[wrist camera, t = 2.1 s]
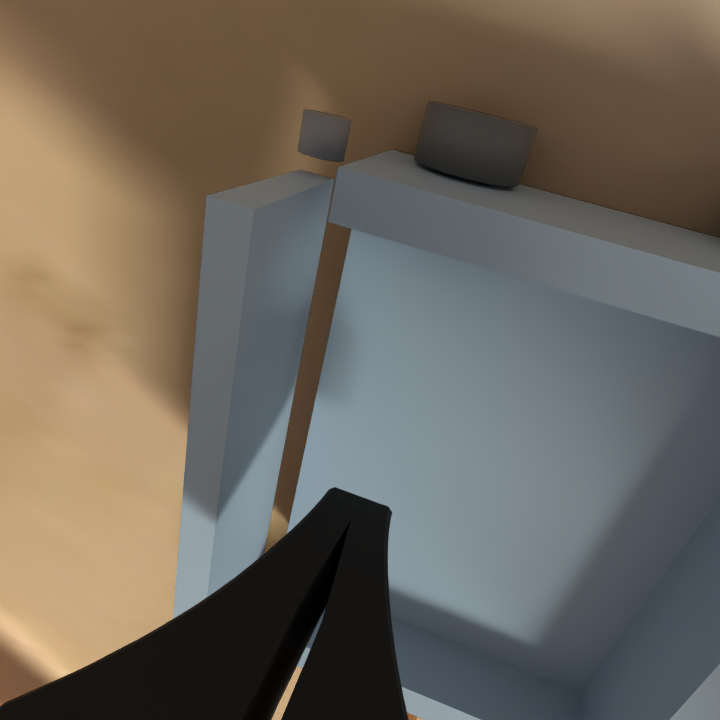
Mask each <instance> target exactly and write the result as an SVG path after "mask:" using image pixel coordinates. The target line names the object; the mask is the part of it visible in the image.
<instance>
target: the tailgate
mask: <svg viewBox="0 0 720 720" xmlns="http://www.w3.org/2000/svg"><path fill="white" fill-rule="evenodd" d="M334 180H335V179H332V178H329V177H325V176H322V175H318V174H314V173H311V172H307V171H304V170H297V171H293V172H290V173H286V174H283V175H279V176H275V177H272V178H268V179H264V180H261V181H257V182H254V183H250V184H246V185H243V186H239V187H236V188H232V189H228V190H225V191H221V192H217V193H214V194H210V195H207V196H206V207H205V220H204V233H203V245H202V258H201V271H200V284H199V296H198V309H197V322H196V334H195V347H194V360H193V372H192V385H191V398H190V411H189V423H188V436H187V449H186V461H185V474H184V487H183V500H182V512H181V525H180V538H179V550H178V563H177V576H176V588H175V601H174V614H173V619H174V618H175V617H177V616H179V615H180V614H182V613H183V612H185V611H187V610H188V609H190V608H191V607H193V606H195V605H196V604H198V603H199V602H201V601H202V600H204V599H205V598H206V597H208V596H209V595H211V594H212V593H214V592H215V591H217V590H218V589H220V588H221V587H222V586H224V585H225V584H226V583H228V582H229V581H231V580H232V579H233V578H235V577H236V576H237V575H239V574H240V573H241V572H242V571H244V570H245V569H246V568H247V567H249V566H250V565H251V564H252V563H254V562H255V561H256V560H257V559H258V558H260V557H261V556H262V555H263V554H264V551H265V546H266V540H267V535H268V530H269V524H270V519H271V514H272V508H273V503H274V498H275V492H276V487H277V482H278V477H279V471H280V466H281V461H282V455H283V450H284V445H285V439H286V434H287V429H288V424H289V418H290V413H291V408H292V402H293V397H294V392H295V386H296V381H297V376H298V370H299V365H300V360H301V355H302V349H303V344H304V339H305V333H306V328H307V323H308V317H309V312H310V307H311V302H312V296H313V291H314V286H315V280H316V275H317V270H318V264H319V259H320V254H321V248H322V243H323V238H324V233H325V227H326V222H327V217H328V211H329V206H330V201H331V195H332V190H333V185H334Z"/></svg>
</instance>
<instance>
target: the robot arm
mask: <svg viewBox="0 0 720 720" xmlns="http://www.w3.org/2000/svg"><path fill="white" fill-rule="evenodd" d="M391 516H392V511H391V510H390V508H389V507H388V506H385V505H382V504H380V503H377V502H374V501H372V500H369V499H366V498H363V497H361V496H358V495H355V494H352V493H350V492H347V491H344V490H342V489H339V488H336V487H334V488H331V489H329V490H328V491H327V492H326V494H325V495H324V496H323V497H322V499H321V500H320V501H319V502H318V503H317V504H316V505H315V506H314V508H313V509H312V510H311V511H310V512H309V513H308V514H307V515H306V516H305V517H304V518H303V519H302V520H301V521H300V522H299V523H298V524H297V525H296V526H295V527H294V528H293V529H292V530H291V531H289V532H288V533H287V534H286V535H285V536H284V537H283V538H282V539H281V540H280V541H278V542H277V543H276V544H275V545H274V546H273V547H272V548H271V549H269V550H268V551H267V552H266V553H265V554H263V555H262V556H261V557H260V558H258V559H257V560H256V561H255V562H254V563H252V564H251V565H250V566H249V567H247V568H246V569H245V570H244V571H242V572H241V573H240V574H239V575H237V576H236V577H235V578H233V579H232V580H231V581H229V582H228V583H226V584H225V585H224V586H222V587H221V588H220V589H218V590H217V591H215V592H214V593H212V594H211V595H209V596H208V597H206V598H205V599H204V600H202V601H201V602H199V603H198V604H196V605H195V606H193V607H191V608H190V609H188V610H187V611H185V612H183V613H182V614H180V615H179V616H177V617H175V618H174V619H172V620H171V621H169V622H167V623H166V624H164V625H162V626H161V627H159V628H157V629H156V630H154V631H152V632H150V633H149V634H147V635H145V636H143V637H142V638H140V639H138V640H136V641H134V642H132V643H130V644H128V645H126V646H124V647H122V648H121V649H119V650H117V651H115V652H113V653H111V654H109V655H107V656H105V657H103V658H101V659H100V660H98V661H96V662H94V663H92V664H90V665H88V666H86V667H84V668H82V669H79V670H77V671H75V672H73V673H71V674H69V675H66V676H64V677H62V678H60V679H57V680H55V681H53V682H51V683H48V684H46V685H44V686H42V687H39V688H37V689H35V690H33V691H30V692H28V693H26V694H24V695H21V696H19V697H17V698H15V699H12V700H10V701H8V702H6V703H4V704H3V705H1V706H0V720H271V719H272V717H273V715H274V712H275V710H276V708H277V706H278V704H279V702H280V700H281V698H282V696H283V693H284V691H285V689H286V687H287V685H288V683H289V681H290V679H291V677H292V675H293V673H294V671H295V669H296V667H297V665H298V663H299V661H300V659H301V657H302V655H303V653H304V651H305V649H306V646H307V644H308V642H309V640H310V638H311V636H312V634H313V632H314V630H315V628H316V626H317V624H318V622H319V620H320V618H321V616H322V614H323V612H324V615H323V619H322V622H321V624H320V627H319V629H318V632H317V634H316V637H315V639H314V642H313V644H312V647H311V649H310V651H309V654H308V656H307V659H306V661H305V664H304V666H303V669H302V671H301V673H300V676H299V678H298V681H297V683H296V685H295V688H294V690H293V693H292V695H291V698H290V700H289V702H288V705H287V707H286V710H285V712H284V714H283V717H282V719H281V720H409V719H408V715H407V710H406V706H405V701H404V696H403V691H402V686H401V681H400V675H399V670H398V664H397V658H396V651H395V644H394V637H393V628H392V620H391V610H390V598H389V580H388V538H389V527H390V521H391ZM325 607H326V608H325ZM324 609H325V611H324Z"/></svg>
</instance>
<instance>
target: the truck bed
mask: <svg viewBox="0 0 720 720" xmlns="http://www.w3.org/2000/svg"><path fill="white" fill-rule="evenodd" d="M350 125H351V120H349V119H346V118H343V117H340V116H337V115H333V114H329V113H324V112H320V111H314V110H307V109H304V111H303V118H302V125H301V131H300V138H299V144H298V152H300V153H302V154H304V155H307V156H310V157H314V158H318V159H322V160H328V161H335V162H342V161H344V156H345V151H346V145H347V140H348V135H349V130H350ZM537 130H538V128H537V127H534V126H530V125H527V124H523V123H520V122H516V121H512V120H508V119H505V118H501V117H497V116H493V115H489V114H485V113H481V112H477V111H473V110H469V109H465V108H461V107H457V106H453V105H448V104H444V103H439V102H435V101H429V102H428V106H427V110H426V114H425V118H424V122H423V126H422V130H421V134H420V138H419V142H418V146H417V149H416V153H415V156H413V155H410V154H406V153H402V152H399V151H395V150H389V151H386V152H383V153H380V154H377V155H374V156H370V157H367V158H364V159H361V160H358V161H355V162H352V163H348V164H345V165H342V166H339V167H338V171H337V176H336V181H335V187H334V192H333V197H332V202H331V208H330V213H329V218H328V222H330V223H333V224H337V225H340V226H343V227H347V228H350V229H351V234H350V239H349V243H348V248H347V253H346V258H345V262H344V267H343V272H342V276H341V281H340V286H339V291H338V295H337V300H336V305H335V309H334V314H333V319H332V323H331V328H330V333H329V338H328V342H327V347H326V352H325V356H324V361H323V366H322V371H321V375H320V380H319V385H318V389H317V394H316V399H315V404H314V408H313V413H312V418H311V422H310V427H309V432H308V436H307V441H306V446H305V451H304V455H303V460H302V465H301V469H300V474H299V479H298V484H297V488H296V493H295V498H294V502H293V507H292V512H291V517H290V521H289V526H288V531H287V533H288V532H289V531H291V530H292V529H293V528H294V527H295V526H296V525H297V524H298V523H299V522H300V521H301V520H302V519H303V518H304V517H305V516H306V515H307V514H308V513H309V512H310V511H311V510H312V509H313V508H314V506H315V505H316V504H317V503H318V502H319V501H320V500H321V499H322V497H323V496H324V495H325V494H326V492H327V491H328V490H329V489H331V488H334V487H336V488H339V489H342V490H344V491H347V492H350V493H352V494H355V495H358V496H361V497H363V498H366V499H369V500H372V501H374V502H377V503H380V504H382V505H385V506H388V507H389V508H390V510H391V511H392V516H391V521H390V527H389V538H388V580H389V598H390V610H391V620H392V628H393V637H394V644H395V651H396V658H397V664H398V670H399V675H400V681H401V686H402V691H403V696H404V701H405V706H406V710H407V713H410V714H412V715H414V716H417V717H419V718H422V719H424V720H720V238H718V237H714V236H710V235H706V234H703V233H699V232H695V231H692V230H688V229H684V228H680V227H677V226H673V225H669V224H666V223H662V222H658V221H655V220H651V219H647V218H643V217H640V216H636V215H632V214H629V213H625V212H621V211H617V210H614V209H610V208H606V207H603V206H599V205H595V204H591V203H588V202H584V201H580V200H577V199H573V198H569V197H565V196H562V195H558V194H554V193H551V192H547V191H543V190H540V189H536V188H532V187H528V186H525V185H521V184H519V182H520V179H521V176H522V173H523V170H524V167H525V164H526V162H527V159H528V156H529V153H530V150H531V147H532V144H533V141H534V139H535V136H536V133H537ZM325 608H326V607H325ZM324 611H325V609H324ZM323 615H324V612H323V614H322V616H321V618H320V620H319V622H318V624H317V626H316V628H315V630H314V632H313V634H312V636H311V638H310V640H309V642H308V644H307V646H306V649H305V651H304V653H303V655H302V657H301V659H300V661H299V663H298V665H297V666H298V667H300V668H303V666H304V664H305V661H306V659H307V656H308V654H309V651H310V649H311V647H312V644H313V642H314V639H315V637H316V634H317V632H318V629H319V627H320V624H321V622H322V619H323Z"/></svg>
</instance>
